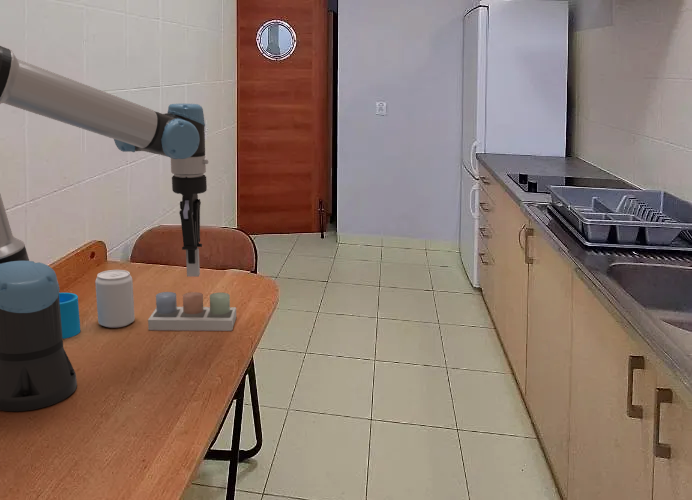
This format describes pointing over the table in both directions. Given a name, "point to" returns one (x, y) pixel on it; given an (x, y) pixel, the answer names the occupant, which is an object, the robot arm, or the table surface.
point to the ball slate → (166, 302)
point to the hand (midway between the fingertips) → (193, 275)
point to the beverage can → (115, 298)
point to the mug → (69, 314)
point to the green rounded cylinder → (219, 303)
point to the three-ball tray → (193, 320)
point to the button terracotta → (193, 303)
